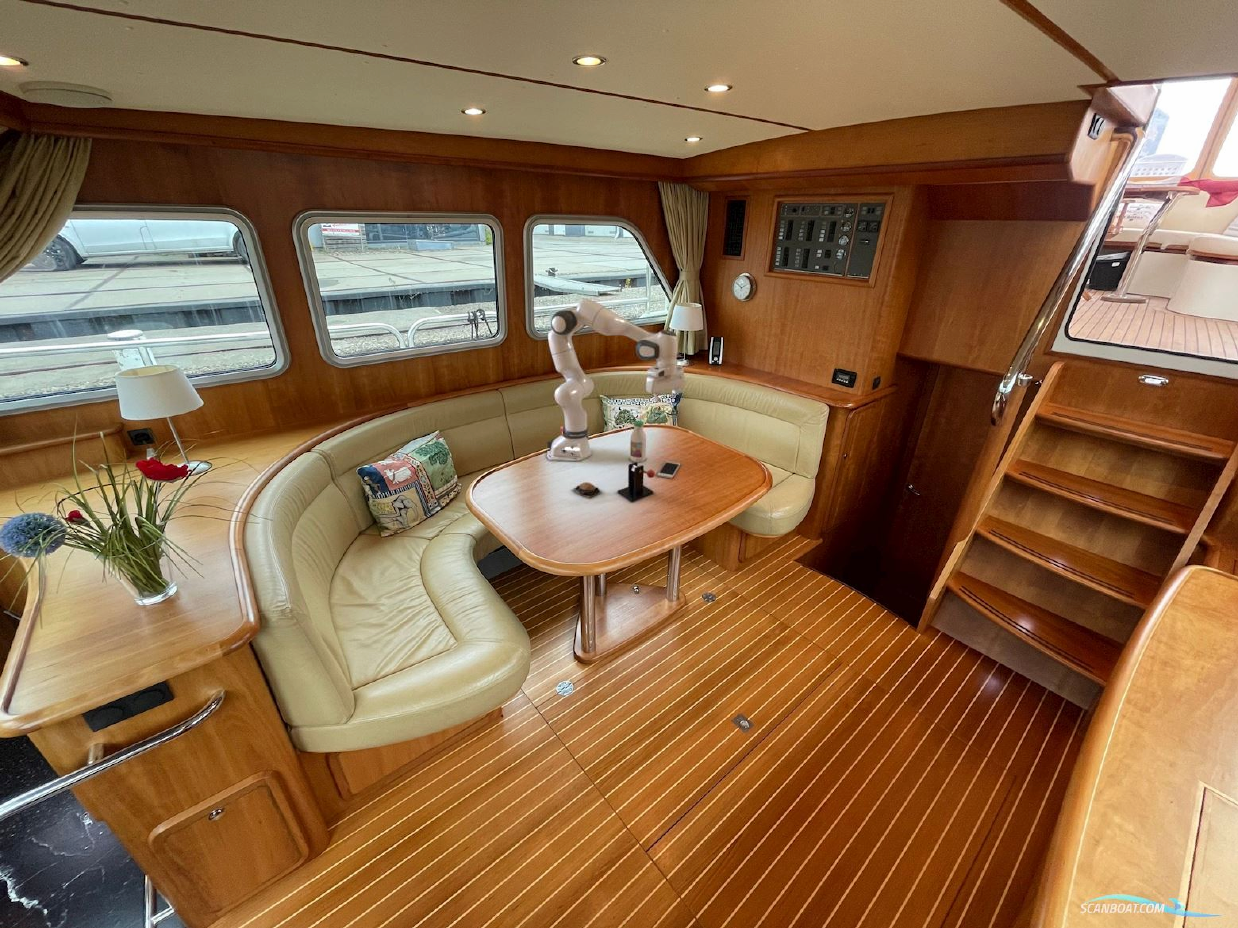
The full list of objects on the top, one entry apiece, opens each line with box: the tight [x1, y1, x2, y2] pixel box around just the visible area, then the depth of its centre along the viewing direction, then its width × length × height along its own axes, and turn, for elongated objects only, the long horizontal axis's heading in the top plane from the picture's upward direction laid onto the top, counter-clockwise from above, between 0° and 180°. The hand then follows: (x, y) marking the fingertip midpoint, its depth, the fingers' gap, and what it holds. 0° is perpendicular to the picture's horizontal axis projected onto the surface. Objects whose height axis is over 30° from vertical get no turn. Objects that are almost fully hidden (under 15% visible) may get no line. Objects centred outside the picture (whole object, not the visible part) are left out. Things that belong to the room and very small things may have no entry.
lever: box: [631, 465, 656, 479], centre depth 208 cm, size 13×4×4 cm
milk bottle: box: [629, 420, 647, 463], centre depth 236 cm, size 8×8×20 cm
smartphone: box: [657, 460, 681, 479], centre depth 229 cm, size 7×15×1 cm, turn 159°
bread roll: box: [572, 482, 602, 499], centre depth 210 cm, size 11×8×4 cm
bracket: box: [617, 461, 654, 503], centre depth 206 cm, size 12×10×14 cm
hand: (665, 399), depth 215 cm, fingers open, 8 cm apart
